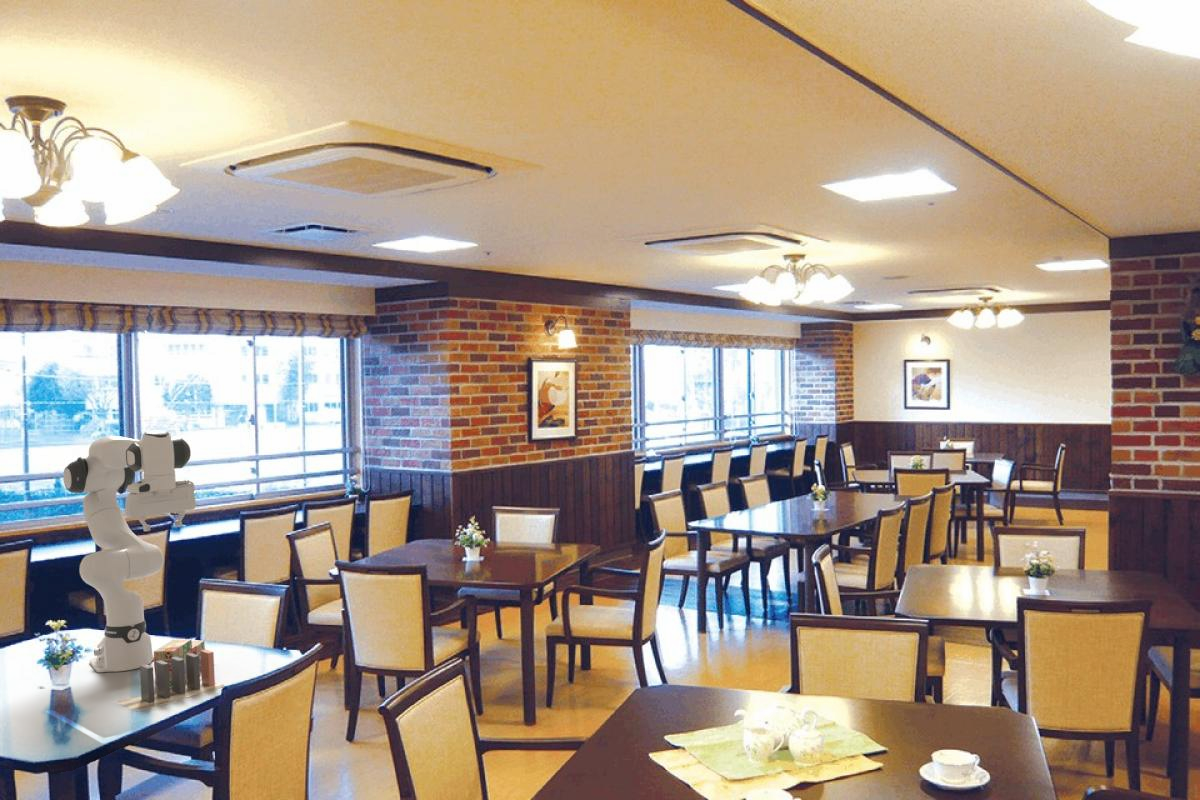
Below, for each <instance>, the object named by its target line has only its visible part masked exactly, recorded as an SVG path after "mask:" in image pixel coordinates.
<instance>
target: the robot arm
mask: <svg viewBox="0 0 1200 800" xmlns="http://www.w3.org/2000/svg"><path fill="white" fill-rule="evenodd" d="M141 436H142V438H140V439H135V438H130V437H125V436H119V435H118V436H117V435H107V436H106V435H105V436H102V437H100V438H97V439H95V440H94V441H93V442H91V444H90V446H89V448H88V456H87V457H84V458H83V457H81V456H80V457H77V459H76V460H75V461H72V462H70V463H68V465H67V466H65V468H64V470H63V476H62V477H63V478H62V480H63V483H64V487H65V488H66V490H68V491H67V492H70V493H74V494H82V493H87V494H85V496H84V498H83V500H82V508H83V509H82V510H83V515H84V519H85V521H86V524H87V527H88V531H89V533H90V535H91V538H92V540H93V542H94V543H95V544H96V545H97V546H98V547H100V548H103V549H104V550H99V551H96V552H93V553H90V554H87V555H85V556H84V557H83V558H82V560H81V562H80V563H79V570H78V571H79V576H80V578H81V579H82V581H83V582H84V583H85V584H86V585H89V586H91V587H93V588H94V589H95V590H96V591H97V592H98V593H99V594H100V596H101V598H102V599H103V603H104V608H105V617H106V624H105V625H104V626H105V628H104V633H103V634H104V637H103V638H102V639H101V640H100V642H99V643H98V644H97V645H96V648H94V649H93V655H94V656H95V657H94V658H92V659H90V660H89V664H90V666H91V667H92V668H93V670H95V672H96V673H106V672H109V673H110V672H124V671H130V670H137V669H140V665H144V664H147V665H150V664H151V663H152V662H154V654H153V649H152V639H151V636H150V635H149V633H147V631H146V630H147V623H146V619H145V615H144V613H145V611H144V600H143V597H142V595H141V594H140V593H137V592H135V591H133V590H130V589H126V587H125V582H126V581H133V580H139V579H143V578H144V579H145V578H147V577H150V576H153V575H155V574H157V573H159V572H161V570H162V568H163V566H164V564H165V563H164V562H165V555H164V553H163V551H162V549H161V548H160V547H159V546H158V545H156V544H153V543H150V542H147V541H145V540H143V539H141V538H140V537H139V536H138V535H136V534H135V533H134V532H133V531H132V530H131V528H130V526H129V525H128V523H127V520H126V519H125V516H124V514H123V512H122V509H121V507H120V504H119V503H118V499H117V493H118V494H119V495H122V494H124V493H125V492H126V490H127V492H128V494H127V496H126V497H125V503H124V505H125V506H124V508H125V509H124V511H125V512H124V513H125V515H126V517H127V518H129V519H138V521H139V522H140V524H141V525H142V528H143V532H149V531H151V530H152V529H151V524H147V522H146V521H147V517H151V516H159V515H163V514H164V515H165V514H172V513H177V515H178V517H177V519H176V520H174V526H175V527H182V523H183V522H182V520H183V519H184V516H185V514H186V511H192V510H195V508H196V507H197V500H196V495H195V491H196V490H195V483H194V482H192V481H190V480H187V479H186V480H180V481H179V480H178V481H176V471H175V469H183V468H184V467H185V466H186V465H187V464H188V463H189V461H190V458H191V451H192V450H191V447H190V445H189V444H188V442H187V441H186V440H184V439H183V438H182V437H180V436H175V437H172V436H171V434H170V432H168V431H165V430H159V429H157V430H156V429H153V430H148V431H144V433H142V435H141ZM136 472H137V473H143V478H142V479H140V480H138V481H136V482H135V477H136Z"/></svg>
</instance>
